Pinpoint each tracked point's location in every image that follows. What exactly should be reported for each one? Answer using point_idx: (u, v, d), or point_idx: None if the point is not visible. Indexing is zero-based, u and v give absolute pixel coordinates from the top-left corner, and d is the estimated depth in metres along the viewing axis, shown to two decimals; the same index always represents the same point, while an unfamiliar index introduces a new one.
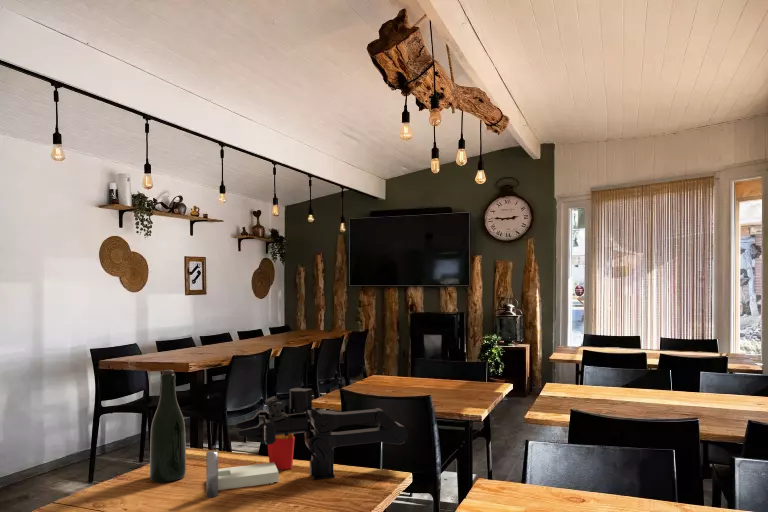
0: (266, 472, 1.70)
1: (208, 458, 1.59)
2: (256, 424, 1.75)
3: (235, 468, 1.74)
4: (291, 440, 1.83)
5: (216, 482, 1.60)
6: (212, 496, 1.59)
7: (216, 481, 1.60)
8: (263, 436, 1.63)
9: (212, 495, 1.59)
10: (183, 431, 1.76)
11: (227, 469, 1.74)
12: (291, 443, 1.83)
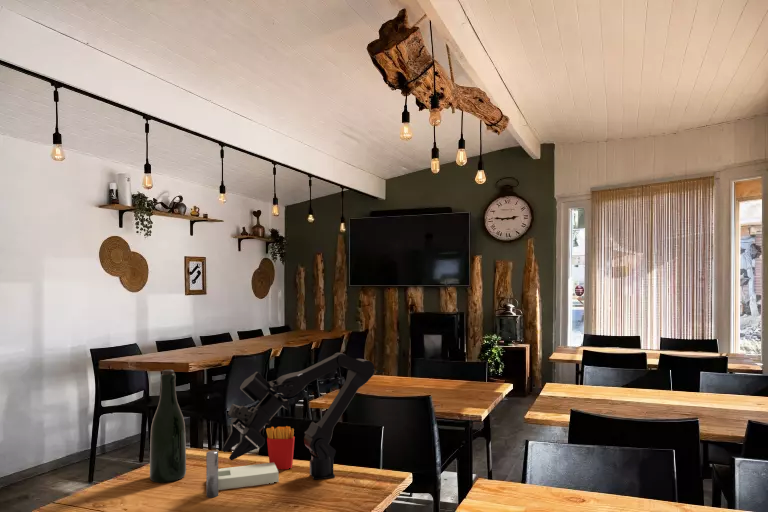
0: (266, 472, 1.70)
1: (208, 458, 1.59)
2: (238, 434, 1.69)
3: (235, 468, 1.74)
4: (291, 440, 1.83)
5: (216, 482, 1.60)
6: (212, 496, 1.59)
7: (216, 481, 1.60)
8: (252, 444, 1.58)
9: (212, 495, 1.59)
10: (183, 431, 1.76)
11: (227, 469, 1.74)
12: (291, 443, 1.83)
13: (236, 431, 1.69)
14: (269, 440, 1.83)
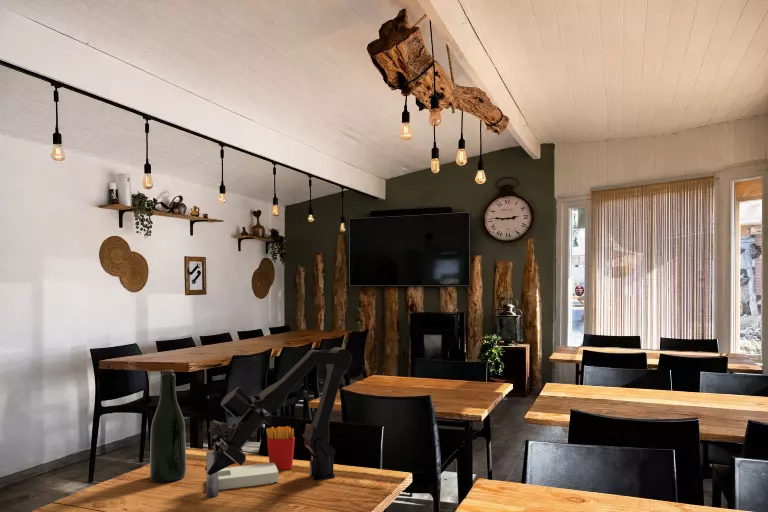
0: (266, 472, 1.70)
1: (208, 458, 1.59)
2: None
3: (235, 468, 1.74)
4: (291, 440, 1.83)
5: (216, 482, 1.60)
6: (212, 496, 1.59)
7: (216, 481, 1.60)
8: (230, 459, 1.58)
9: (212, 495, 1.59)
10: (183, 431, 1.76)
11: (227, 469, 1.74)
12: (291, 443, 1.83)
13: None
14: (269, 440, 1.83)
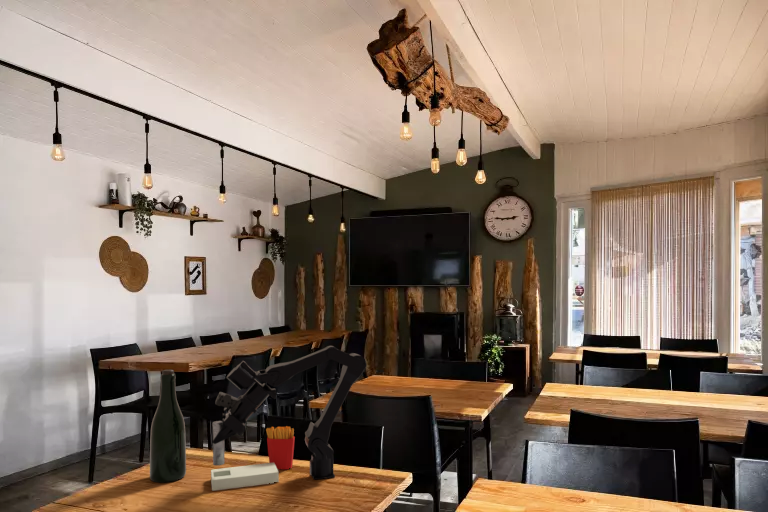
0: (266, 472, 1.70)
1: (213, 427, 1.67)
2: None
3: (235, 468, 1.74)
4: (291, 440, 1.83)
5: (221, 451, 1.66)
6: (217, 464, 1.66)
7: (221, 450, 1.66)
8: None
9: (217, 463, 1.66)
10: (183, 431, 1.76)
11: (227, 469, 1.74)
12: (291, 443, 1.83)
13: None
14: (269, 440, 1.83)
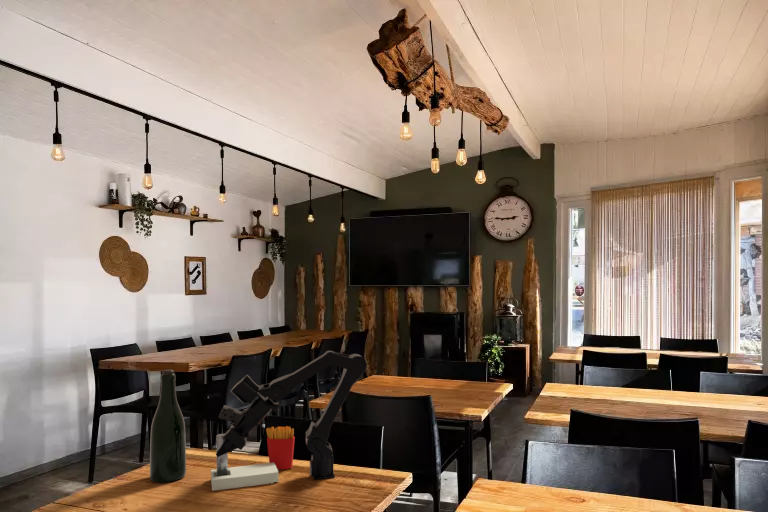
0: (266, 472, 1.70)
1: (217, 440, 1.69)
2: None
3: (235, 468, 1.74)
4: (291, 440, 1.83)
5: (224, 463, 1.69)
6: None
7: (224, 463, 1.69)
8: None
9: (220, 475, 1.68)
10: (183, 431, 1.76)
11: None
12: (291, 443, 1.83)
13: None
14: (269, 440, 1.83)
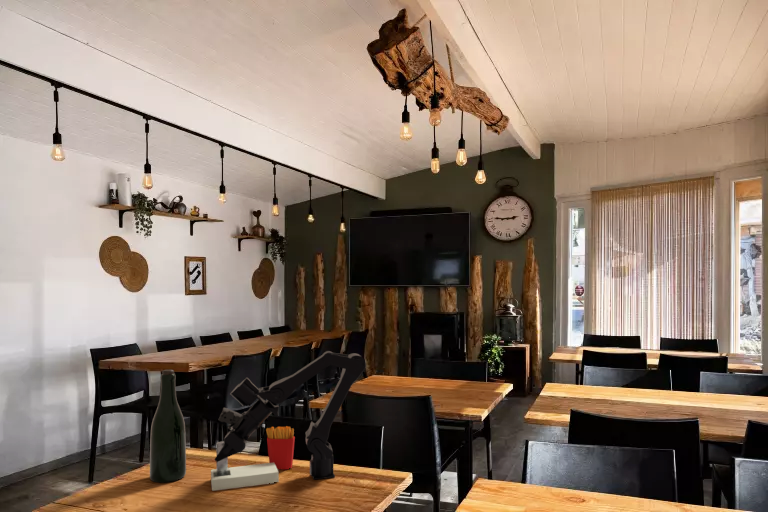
0: (266, 472, 1.70)
1: (217, 448, 1.69)
2: None
3: (235, 468, 1.74)
4: (291, 440, 1.83)
5: (224, 471, 1.69)
6: None
7: (224, 470, 1.69)
8: (233, 448, 1.64)
9: None
10: (183, 431, 1.76)
11: None
12: (291, 443, 1.83)
13: None
14: (269, 440, 1.83)
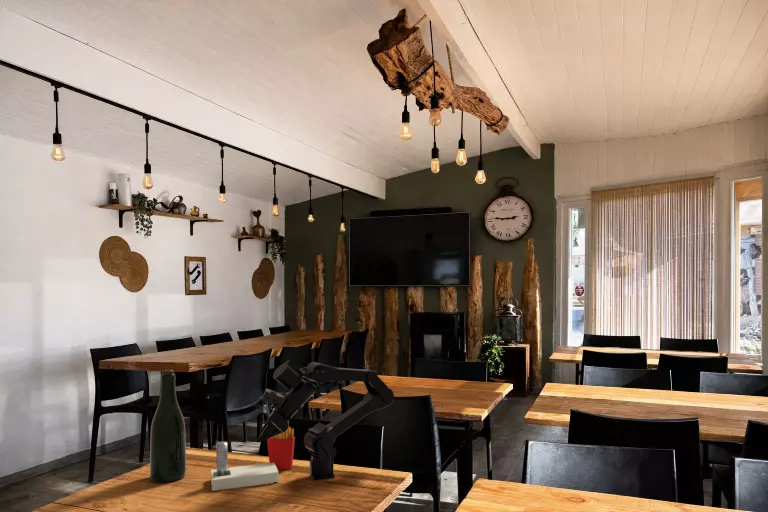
0: (266, 472, 1.70)
1: (217, 448, 1.69)
2: None
3: (235, 468, 1.74)
4: (291, 440, 1.83)
5: (224, 471, 1.69)
6: None
7: (224, 470, 1.69)
8: (277, 428, 1.64)
9: None
10: (183, 431, 1.76)
11: None
12: (291, 443, 1.83)
13: None
14: (269, 440, 1.83)
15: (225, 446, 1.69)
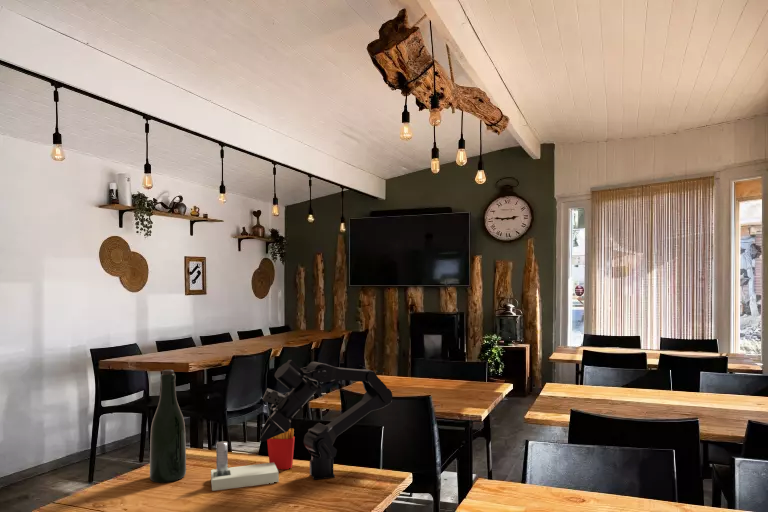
0: (266, 472, 1.70)
1: (217, 448, 1.69)
2: None
3: (235, 468, 1.74)
4: (291, 440, 1.83)
5: (224, 471, 1.69)
6: None
7: (224, 470, 1.69)
8: (279, 428, 1.64)
9: None
10: (183, 431, 1.76)
11: None
12: (291, 443, 1.83)
13: None
14: (269, 440, 1.83)
15: (225, 446, 1.69)
